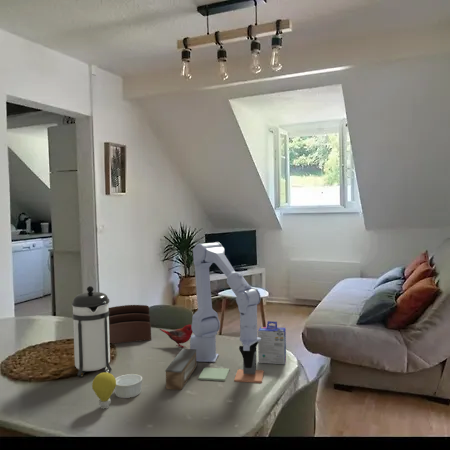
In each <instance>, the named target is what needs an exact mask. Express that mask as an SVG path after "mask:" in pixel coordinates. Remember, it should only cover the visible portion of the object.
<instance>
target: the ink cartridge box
mask: <svg viewBox="0 0 450 450" xmlns="http://www.w3.org/2000/svg"><path fill="white" fill-rule="evenodd" d="M270 324H274V325H270ZM286 331H287V330H286V327H279V326H278V321H269V320H267V322H266V326H259V328H258V329H257V337H260V338H261V341H258V344H257V348H258V350H257V351H258V356H257V357H258V364H269V365H270V364H271V365H285V364H286V361H287V336H286V335H287V332H286Z"/></svg>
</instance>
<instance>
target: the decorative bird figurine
mask: <svg viewBox="0 0 450 450" xmlns="http://www.w3.org/2000/svg"><path fill="white" fill-rule="evenodd" d="M191 326H192V324H185V325H184V326H183V327H182V328H177V329H176V328H175V329H173V330H170V331H168V330H164V329H162V328H159V330H160V331H161V332H163V333H165V334H166V335H167V336H168V337H169V338H170V339H171V340H172V341H174V342H175V343H176V344H175V346H177V347H179V348H182V349H184V348H185V346H184V345H182V344H186V343H187V342H188V341H190V340H191V336H192V335H193V332H192V328H191Z"/></svg>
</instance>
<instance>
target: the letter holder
mask: <svg viewBox="0 0 450 450" xmlns="http://www.w3.org/2000/svg"><path fill="white" fill-rule="evenodd" d="M108 308H109V341H110V343H112V344H123V343H122V342H124V343H132V342H134V341H135V342H144V341H152V324H151V315H150V306H148V305H147V304H145V305H144V304H125V305H118V306H117V305H116V306H112V307H111V306H110V307H108Z"/></svg>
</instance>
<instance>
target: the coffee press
mask: <svg viewBox="0 0 450 450" xmlns="http://www.w3.org/2000/svg"><path fill="white" fill-rule="evenodd" d="M86 291H87V292H82V293H79V294H77V295H76V296H74V298H73V299H72V301H71V307H72V319H73V321H72V323H73V325H72V326H73V350H74V351H73V352H74V368H75V367H76V368H75V369H77V370H78V371H77V373H76V374H77V377H78V376H80V377H79V378H82V377H81V373H83V376H84V375H85V373H86V372H94V371H99V370H104V371H105V372H107V371H109V372H108V373H110V372H111V371H112V366H110V362H111V354H110V353H111V347H110V346H111V344H110V341H109V308H110V307H109V303H110V299H109V297H108V295H107V294H105V293H104V292H99V291H94V287H93V286H91V285H90V286H88V287H87V288H86Z"/></svg>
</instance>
